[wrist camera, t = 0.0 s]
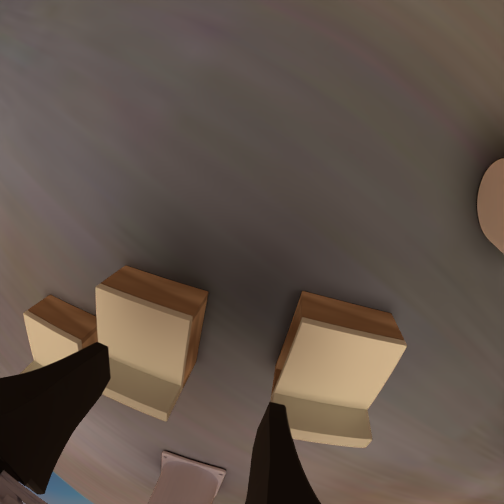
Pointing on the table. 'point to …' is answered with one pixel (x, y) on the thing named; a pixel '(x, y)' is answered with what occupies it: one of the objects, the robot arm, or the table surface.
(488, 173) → the cup
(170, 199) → the table surface
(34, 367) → the lid
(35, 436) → the robot arm
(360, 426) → the lid
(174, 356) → the lid
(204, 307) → the crates
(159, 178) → the table surface
